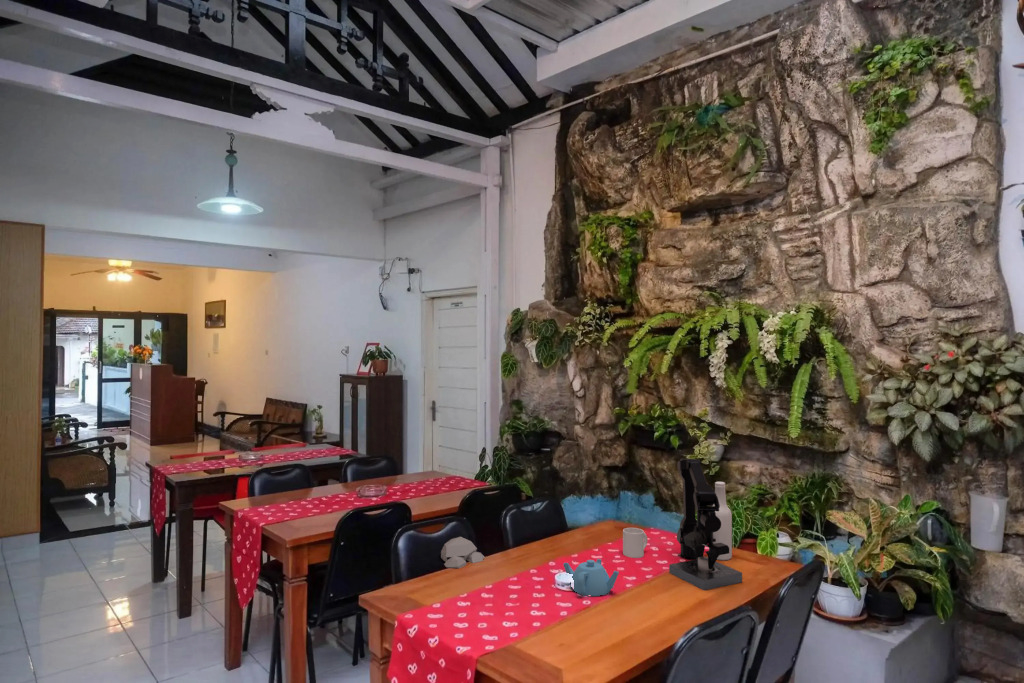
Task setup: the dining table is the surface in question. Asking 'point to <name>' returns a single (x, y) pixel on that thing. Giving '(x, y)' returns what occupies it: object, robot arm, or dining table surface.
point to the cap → (703, 564)
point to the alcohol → (723, 521)
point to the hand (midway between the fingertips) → (705, 566)
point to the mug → (634, 542)
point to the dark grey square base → (705, 575)
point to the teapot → (591, 578)
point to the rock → (460, 553)
